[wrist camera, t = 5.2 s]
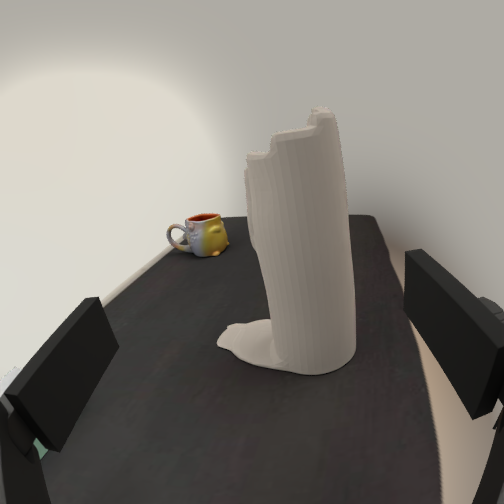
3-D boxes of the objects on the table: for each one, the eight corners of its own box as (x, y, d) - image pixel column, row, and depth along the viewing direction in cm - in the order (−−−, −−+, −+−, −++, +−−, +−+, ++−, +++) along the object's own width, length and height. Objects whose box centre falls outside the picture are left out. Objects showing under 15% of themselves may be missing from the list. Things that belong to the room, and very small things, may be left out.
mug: (235, 243, 61) (228, 208, 58) (220, 258, 55) (211, 220, 52) (182, 246, 65) (174, 215, 63) (163, 260, 59) (154, 226, 57)
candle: (238, 316, 36) (198, 131, 29) (363, 329, 29) (343, 104, 22) (201, 354, 30) (143, 140, 23) (344, 381, 23) (316, 99, 16)
